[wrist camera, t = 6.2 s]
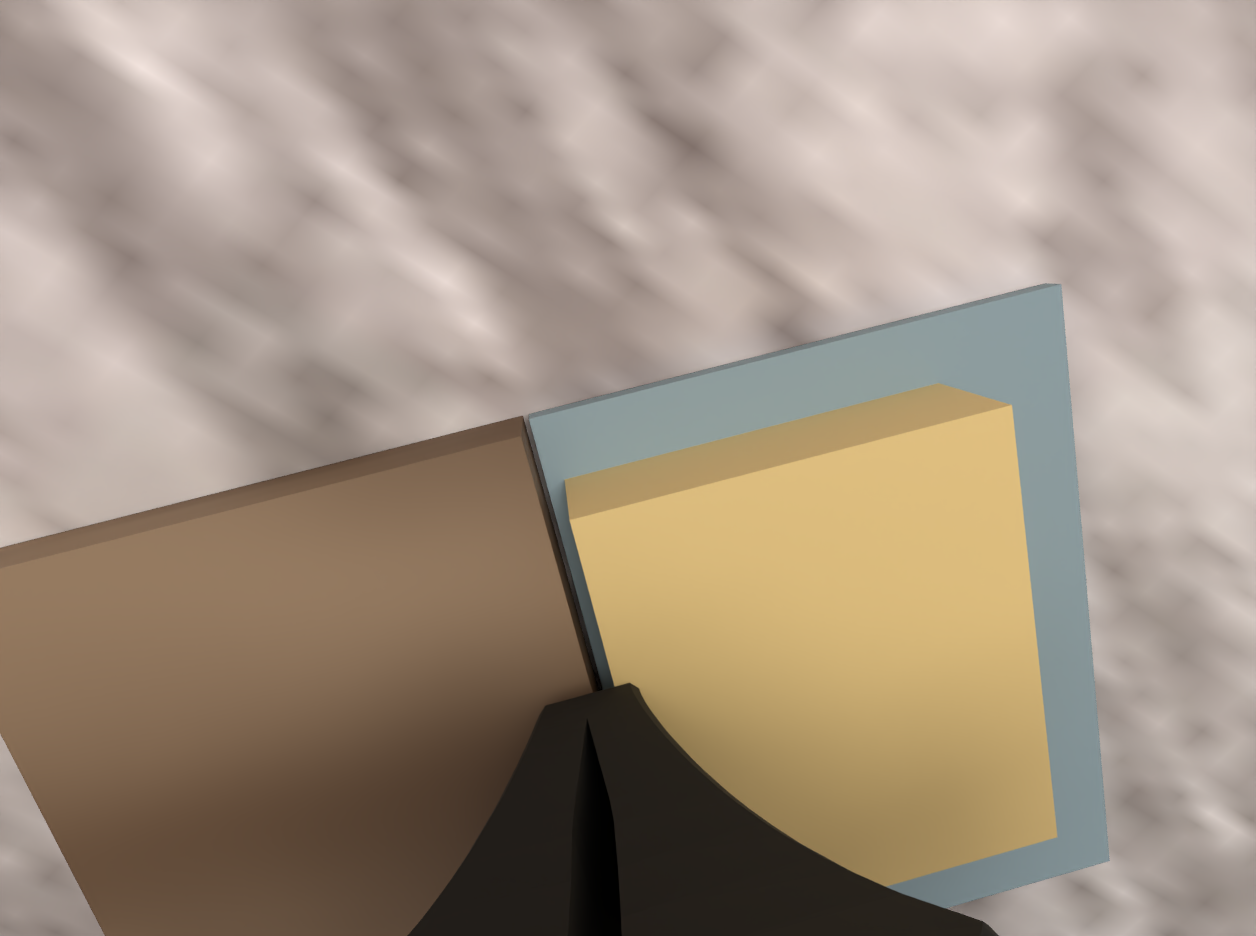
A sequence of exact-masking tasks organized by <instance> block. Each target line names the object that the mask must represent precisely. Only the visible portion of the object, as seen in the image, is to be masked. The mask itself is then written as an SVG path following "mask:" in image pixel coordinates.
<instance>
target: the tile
mask: <svg viewBox="0 0 1256 936" xmlns="http://www.w3.org/2000/svg"><path fill="white" fill-rule="evenodd" d="M565 488H566V496H567V504H568V512H569V520H570V524H571V527H572V531H573V535H574V538H575V542H576V546H577V550H578V553H579V557H580V561H581V564H582V568H583V572H584V575H585V579H586V583H587V586H588V590H589V594H590V598H591V601H592V605H593V609H594V612H595V616H596V620H597V623H598V627H599V631H600V634H601V638H602V642H603V646H604V649H605V653H606V657H607V660H608V664H609V668H610V671H611V675H612V679H613V683H614V686H615V687H616V686H619V685H623V684H627V683H631V684H633V685H634V686H636V687H638V688H639V689H640V692H641V695H642V697H643V698H644V700H645V702H646V704H647V705H648V707H649V708H650V710H651V711H652V713H653V714H654V715H655V717H656V718H657V719H658V720H659V722H660V723H661V724H662V726H663V727H664V728H665V729H666V731H667V732H668V733H669V734H670V735H671V736H672V738H673V739H674V740H675V741H676V742H677V743H678V744H679V745H680V746H681V747H682V748H683V749H684V750H685V751H686V753H687V754H688V755H689V756H690V757H691V758H692V759H693V760H694V761H695V762H696V763H697V764H698V765H699V766H700V767H701V768H702V769H703V770H704V771H705V772H707V773H708V774H709V775H710V776H711V777H712V778H713V779H714V780H715V781H717V782H718V783H719V784H720V785H721V786H722V787H723V788H724V789H726V790H727V791H728V792H729V793H730V794H732V795H733V796H734V797H735V798H736V799H738V800H739V801H740V802H742V803H743V804H744V805H745V806H747V807H748V808H749V809H751V810H752V811H753V812H755V813H756V814H758V815H759V816H760V817H762V818H763V819H764V820H766V821H767V822H769V823H770V824H771V825H773V826H774V827H776V828H778V829H779V830H781V831H782V832H784V833H785V834H787V835H788V836H790V837H791V838H793V839H794V840H796V841H797V842H799V843H801V844H802V845H804V846H806V847H808V848H810V849H811V850H813V851H815V852H817V853H819V854H821V855H822V856H824V857H826V858H828V859H830V860H832V861H833V862H835V863H837V864H839V865H841V866H843V867H844V868H846V869H848V870H850V871H852V872H854V873H856V874H858V875H861V876H863V877H865V878H867V879H870V880H872V881H874V882H876V883H879V884H881V885H883V886H885V887H886V886H890V885H893V884H897V883H900V882H904V881H907V880H911V879H914V878H918V877H921V876H924V875H928V874H931V873H935V872H938V871H942V870H945V869H949V868H952V867H956V866H959V865H963V864H966V863H970V862H973V861H977V860H980V859H984V858H987V857H991V856H994V855H997V854H1001V853H1004V852H1008V851H1011V850H1015V849H1018V848H1022V847H1025V846H1029V845H1032V844H1036V843H1039V842H1043V841H1046V840H1050V839H1053V838H1057V828H1056V818H1055V809H1054V799H1053V790H1052V780H1051V771H1050V761H1049V752H1048V742H1047V733H1046V723H1045V714H1044V704H1043V695H1042V685H1041V676H1040V666H1039V657H1038V647H1037V638H1036V628H1035V619H1034V609H1033V600H1032V590H1031V581H1030V571H1029V562H1028V552H1027V543H1026V533H1025V524H1024V514H1023V505H1022V495H1021V486H1020V476H1019V467H1018V457H1017V448H1016V438H1015V429H1014V419H1013V410H1012V405H1010V404H1007V403H1004V402H1000V401H997V400H993V399H990V398H987V397H983V396H980V395H977V394H973V393H970V392H967V391H963V390H960V389H957V388H953V387H950V386H947V385H943V384H940V383H937V384H933V385H929V386H925V387H921V388H917V389H913V390H910V391H906V392H902V393H898V394H894V395H890V396H886V397H882V398H879V399H875V400H871V401H867V402H863V403H859V404H855V405H851V406H848V407H844V408H840V409H836V410H832V411H828V412H824V413H820V414H817V415H813V416H809V417H805V418H801V419H797V420H793V421H789V422H785V423H782V424H778V425H774V426H770V427H766V428H762V429H758V430H754V431H751V432H747V433H743V434H739V435H735V436H731V437H727V438H723V439H720V440H716V441H712V442H708V443H704V444H700V445H696V446H692V447H689V448H685V449H681V450H677V451H673V452H669V453H665V454H661V455H658V456H654V457H650V458H646V459H642V460H638V461H634V462H630V463H627V464H623V465H619V466H615V467H611V468H607V469H603V470H599V471H596V472H592V473H588V474H584V475H580V476H576V477H572V478H568V479H565Z"/></svg>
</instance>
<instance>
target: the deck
mask: <svg viewBox="0 0 1256 936" xmlns="http://www.w3.org/2000/svg"><path fill="white" fill-rule="evenodd" d="M597 691H599V690H598V686H597V682H596V679H595V675H594V672H593V668H592V664H591V661H590V657H589V653H588V650H587V646H586V643H585V639H584V635H583V632H582V628H581V625H580V621H579V617H578V614H577V610H576V606H575V603H574V599H573V596H572V592H571V588H570V585H569V581H568V578H567V574H566V570H565V567H564V563H563V559H562V556H561V552H560V549H559V545H558V541H557V538H556V534H555V531H554V527H553V523H552V520H551V516H550V512H549V509H548V505H547V502H546V498H545V494H544V491H543V487H542V484H541V480H540V476H539V473H538V469H537V465H536V462H535V458H534V455H533V451H532V447H531V444H530V440H529V437H528V433H527V429H526V426H525V422H524V418H523V416H520V417H516V418H512V419H508V420H504V421H500V422H496V423H492V424H488V425H484V426H480V427H476V428H472V429H468V430H464V431H460V432H456V433H453V434H449V435H445V436H441V437H437V438H433V439H429V440H425V441H421V442H417V443H413V444H409V445H405V446H401V447H397V448H393V449H389V450H385V451H381V452H377V453H373V454H370V455H366V456H362V457H358V458H354V459H350V460H346V461H342V462H338V463H334V464H330V465H326V466H322V467H318V468H314V469H310V470H306V471H302V472H298V473H294V474H290V475H287V476H283V477H279V478H275V479H271V480H267V481H263V482H259V483H255V484H251V485H247V486H243V487H239V488H235V489H231V490H227V491H223V492H219V493H215V494H211V495H207V496H204V497H200V498H196V499H192V500H188V501H184V502H180V503H176V504H172V505H168V506H164V507H160V508H156V509H152V510H148V511H144V512H140V513H136V514H132V515H128V516H124V517H121V518H117V519H113V520H109V521H105V522H101V523H97V524H93V525H89V526H85V527H81V528H77V529H73V530H69V531H65V532H61V533H57V534H53V535H49V536H45V537H41V538H38V539H34V540H30V541H26V542H22V543H18V544H14V545H10V546H6V547H2V548H0V734H1V736H2V738H3V740H4V741H5V743H6V745H7V747H8V749H9V751H10V753H11V755H12V757H13V759H14V761H15V763H16V765H17V767H18V768H19V770H20V772H21V774H22V776H23V778H24V780H25V782H26V784H27V786H28V788H29V790H30V792H31V794H32V796H33V797H34V799H35V801H36V803H37V805H38V807H39V809H40V811H41V813H42V815H43V817H44V819H45V821H46V823H47V825H48V826H49V828H50V830H51V832H52V834H53V836H54V838H55V840H56V842H57V844H58V846H59V848H60V850H61V852H62V854H63V855H64V857H65V859H66V861H67V863H68V865H69V867H70V869H71V871H72V873H73V875H74V877H75V879H76V881H77V883H78V884H79V886H80V888H81V890H82V892H83V894H84V896H85V898H86V900H87V902H88V904H89V906H90V908H91V910H92V912H93V913H94V915H95V917H96V919H97V921H98V923H99V925H100V927H101V929H102V931H103V933H104V935H105V936H407V935H408V934H409V933H410V932H411V931H412V930H413V928H414V927H415V926H416V925H417V924H418V923H419V921H420V920H421V919H422V918H423V916H424V915H425V914H426V913H427V911H428V910H429V909H430V907H431V906H432V905H433V903H434V902H435V901H436V899H437V898H438V897H439V895H440V894H441V893H442V891H443V890H444V888H445V887H446V886H447V884H448V883H449V882H450V880H451V879H452V877H453V876H454V874H455V873H456V871H457V870H458V868H459V867H460V865H461V864H462V862H463V861H464V859H465V858H466V856H467V854H468V853H469V851H470V849H471V848H472V846H473V844H474V843H475V841H476V839H477V838H478V836H479V834H480V833H481V831H482V829H483V828H484V826H485V824H486V822H487V821H488V819H489V817H490V816H491V814H492V812H493V811H494V809H495V807H496V805H497V803H498V801H499V799H500V798H501V796H502V794H503V792H504V790H505V788H506V786H507V784H508V782H509V780H510V778H511V776H512V774H513V772H514V770H515V768H516V766H517V764H518V762H519V760H520V758H521V756H522V753H523V751H524V749H525V747H526V745H527V743H528V740H529V738H530V736H531V733H532V731H533V729H534V727H535V724H536V722H537V719H538V717H539V715H540V713H541V712H542V710H543V708H544V707H545V705H549V704H553V703H557V702H560V701H564V700H568V699H571V698H575V697H579V696H582V695H586V694H590V693H594V692H597Z"/></svg>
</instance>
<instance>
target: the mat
mask: <svg viewBox="0 0 1256 936" xmlns="http://www.w3.org/2000/svg"><path fill="white" fill-rule="evenodd" d="M937 383H940V384H943V385H947V386H950V387H953V388H957V389H960V390H963V391H967V392H970V393H973V394H977V395H980V396H983V397H987V398H990V399H993V400H997V401H1000V402H1004V403H1007V404H1010V405H1012V410H1013V419H1014V429H1015V438H1016V448H1017V457H1018V467H1019V476H1020V486H1021V495H1022V505H1023V514H1024V524H1025V533H1026V543H1027V552H1028V562H1029V571H1030V581H1031V590H1032V600H1033V609H1034V619H1035V628H1036V638H1037V647H1038V657H1039V666H1040V676H1041V685H1042V695H1043V704H1044V714H1045V723H1046V733H1047V742H1048V752H1049V761H1050V771H1051V780H1052V790H1053V799H1054V809H1055V818H1056V828H1057V838H1053V839H1050V840H1046V841H1043V842H1039V843H1036V844H1032V845H1029V846H1025V847H1022V848H1018V849H1015V850H1011V851H1008V852H1004V853H1001V854H997V855H994V856H991V857H987V858H984V859H980V860H977V861H973V862H970V863H966V864H963V865H959V866H956V867H952V868H949V869H945V870H942V871H938V872H935V873H931V874H928V875H924V876H921V877H918V878H914V879H911V880H907V881H904V882H900V883H897V884H893V885H890V886H886V887H888V888H890V889H892V890H895V891H897V892H900V893H902V894H905V895H908V896H911V897H914V898H916V899H919V900H922V901H925V902H928V903H931V904H934V905H937V906H940V907H942V908H948V907H952V906H955V905H959V904H962V903H966V902H969V901H973V900H976V899H980V898H983V897H986V896H990V895H993V894H997V893H1000V892H1004V891H1007V890H1011V889H1014V888H1018V887H1021V886H1024V885H1028V884H1031V883H1035V882H1038V881H1042V880H1045V879H1049V878H1052V877H1056V876H1059V875H1062V874H1066V873H1069V872H1073V871H1076V870H1080V869H1083V868H1087V867H1090V866H1093V865H1097V864H1100V863H1104V862H1107V861H1110V860H1109V848H1108V836H1107V824H1106V812H1105V801H1104V789H1103V777H1102V765H1101V753H1100V741H1099V729H1098V717H1097V705H1096V693H1095V681H1094V669H1093V658H1092V646H1091V634H1090V622H1089V610H1088V598H1087V586H1086V574H1085V562H1084V550H1083V538H1082V526H1081V515H1080V503H1079V491H1078V479H1077V467H1076V455H1075V443H1074V431H1073V419H1072V407H1071V395H1070V383H1069V372H1068V360H1067V348H1066V336H1065V324H1064V312H1063V300H1062V288H1061V284H1041V285H1037V286H1034V287H1030V288H1026V289H1022V290H1018V291H1014V292H1010V293H1006V294H1002V295H998V296H994V297H990V298H986V299H982V300H978V301H974V302H970V303H966V304H962V305H958V306H954V307H951V308H947V309H943V310H939V311H935V312H931V313H927V314H923V315H919V316H915V317H911V318H907V319H903V320H899V321H895V322H891V323H887V324H883V325H879V326H875V327H871V328H868V329H864V330H860V331H856V332H852V333H848V334H844V335H840V336H836V337H832V338H828V339H824V340H820V341H816V342H812V343H808V344H804V345H800V346H796V347H792V348H788V349H785V350H781V351H777V352H773V353H769V354H765V355H761V356H757V357H753V358H749V359H745V360H741V361H737V362H733V363H729V364H725V365H721V366H717V367H713V368H709V369H705V370H702V371H698V372H694V373H690V374H686V375H682V376H678V377H674V378H670V379H666V380H662V381H658V382H654V383H650V384H646V385H642V386H638V387H634V388H630V389H626V390H622V391H619V392H615V393H611V394H607V395H603V396H599V397H595V398H591V399H587V400H583V401H579V402H575V403H571V404H567V405H563V406H559V407H555V408H551V409H547V410H543V411H539V412H536V413H532V414H529V421H530V425H531V429H532V432H533V436H534V440H535V443H536V447H537V451H538V454H539V458H540V462H541V465H542V469H543V472H544V476H545V480H546V483H547V487H548V491H549V494H550V498H551V502H552V505H553V509H554V512H555V516H556V520H557V523H558V527H559V531H560V534H561V538H562V542H563V545H564V549H565V552H566V556H567V560H568V563H569V567H570V571H571V574H572V578H573V582H574V585H575V589H576V593H577V596H578V600H579V603H580V607H581V611H582V614H583V618H584V622H585V625H586V629H587V633H588V636H589V640H590V643H591V647H592V651H593V654H594V658H595V662H596V665H597V669H598V673H599V676H600V680H601V684H602V687H603V690H605V689H608V688H612V687H615V686H614V683H613V679H612V675H611V671H610V668H609V664H608V660H607V657H606V653H605V649H604V646H603V642H602V638H601V634H600V631H599V627H598V623H597V620H596V616H595V612H594V609H593V605H592V601H591V598H590V594H589V590H588V586H587V583H586V579H585V575H584V572H583V568H582V564H581V561H580V557H579V553H578V550H577V546H576V542H575V538H574V535H573V531H572V527H571V524H570V520H569V512H568V504H567V496H566V488H565V479H568V478H572V477H576V476H580V475H584V474H588V473H592V472H596V471H599V470H603V469H607V468H611V467H615V466H619V465H623V464H627V463H630V462H634V461H638V460H642V459H646V458H650V457H654V456H658V455H661V454H665V453H669V452H673V451H677V450H681V449H685V448H689V447H692V446H696V445H700V444H704V443H708V442H712V441H716V440H720V439H723V438H727V437H731V436H735V435H739V434H743V433H747V432H751V431H754V430H758V429H762V428H766V427H770V426H774V425H778V424H782V423H785V422H789V421H793V420H797V419H801V418H805V417H809V416H813V415H817V414H820V413H824V412H828V411H832V410H836V409H840V408H844V407H848V406H851V405H855V404H859V403H863V402H867V401H871V400H875V399H879V398H882V397H886V396H890V395H894V394H898V393H902V392H906V391H910V390H913V389H917V388H921V387H925V386H929V385H933V384H937Z"/></svg>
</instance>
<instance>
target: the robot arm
mask: <svg viewBox="0 0 1256 936" xmlns="http://www.w3.org/2000/svg"><path fill="white" fill-rule="evenodd" d="M407 936H998V935H997V934H996V933H995V931H994V930H993V929H992V928H991V927H990V926H989V925H987V924H986V923H984V922H983V921H980V920H977V919H974V918H971V917H968V916H965V915H963V914H960V913H957V912H954V911H951V910H948V909H945V908H942V907H940V906H937V905H934V904H931V903H928V902H925V901H922V900H919V899H916V898H914V897H911V896H908V895H905V894H902V893H900V892H897V891H895V890H892V889H890V888H888V887H885V886H883V885H881V884H879V883H876V882H874V881H872V880H870V879H867V878H865V877H863V876H861V875H858V874H856V873H854V872H852V871H850V870H848V869H846V868H844V867H843V866H841V865H839V864H837V863H835V862H833V861H832V860H830V859H828V858H826V857H824V856H822V855H821V854H819V853H817V852H815V851H813V850H811V849H810V848H808V847H806V846H804V845H802V844H801V843H799V842H797V841H796V840H794V839H793V838H791V837H790V836H788V835H787V834H785V833H784V832H782V831H781V830H779V829H778V828H776V827H774V826H773V825H771V824H770V823H769V822H767V821H766V820H764V819H763V818H762V817H760V816H759V815H758V814H756V813H755V812H753V811H752V810H751V809H749V808H748V807H747V806H745V805H744V804H743V803H742V802H740V801H739V800H738V799H736V798H735V797H734V796H733V795H732V794H730V793H729V792H728V791H727V790H726V789H724V788H723V787H722V786H721V785H720V784H719V783H718V782H717V781H715V780H714V779H713V778H712V777H711V776H710V775H709V774H708V773H707V772H705V771H704V770H703V769H702V768H701V767H700V766H699V765H698V764H697V763H696V762H695V761H694V760H693V759H692V758H691V757H690V756H689V755H688V754H687V753H686V751H685V750H684V749H683V748H682V747H681V746H680V745H679V744H678V743H677V742H676V741H675V740H674V739H673V738H672V736H671V735H670V734H669V733H668V732H667V731H666V729H665V728H664V727H663V726H662V724H661V723H660V722H659V720H658V719H657V718H656V717H655V715H654V714H653V713H652V711H651V710H650V708H649V707H648V705H647V704H646V702H645V700H644V698H643V697H642V695H641V692H640V689H639V688H638V687H636V686H634V685H633V684H631V683H627V684H623V685H619V686H616V687H612V688H608V689H605V690H601V691H597V692H594V693H590V694H586V695H582V696H579V697H575V698H571V699H568V700H564V701H560V702H557V703H553V704H549V705H545V707H544V708H543V710H542V712H541V713H540V715H539V717H538V719H537V722H536V724H535V727H534V729H533V731H532V733H531V736H530V738H529V740H528V743H527V745H526V747H525V749H524V751H523V753H522V756H521V758H520V760H519V762H518V764H517V766H516V768H515V770H514V772H513V774H512V776H511V778H510V780H509V782H508V784H507V786H506V788H505V790H504V792H503V794H502V796H501V798H500V799H499V801H498V803H497V805H496V807H495V809H494V811H493V812H492V814H491V816H490V817H489V819H488V821H487V822H486V824H485V826H484V828H483V829H482V831H481V833H480V834H479V836H478V838H477V839H476V841H475V843H474V844H473V846H472V848H471V849H470V851H469V853H468V854H467V856H466V858H465V859H464V861H463V862H462V864H461V865H460V867H459V868H458V870H457V871H456V873H455V874H454V876H453V877H452V879H451V880H450V882H449V883H448V884H447V886H446V887H445V888H444V890H443V891H442V893H441V894H440V895H439V897H438V898H437V899H436V901H435V902H434V903H433V905H432V906H431V907H430V909H429V910H428V911H427V913H426V914H425V915H424V916H423V918H422V919H421V920H420V921H419V923H418V924H417V925H416V926H415V927H414V928H413V930H412V931H411V932H410V933H409V934H408V935H407Z"/></svg>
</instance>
